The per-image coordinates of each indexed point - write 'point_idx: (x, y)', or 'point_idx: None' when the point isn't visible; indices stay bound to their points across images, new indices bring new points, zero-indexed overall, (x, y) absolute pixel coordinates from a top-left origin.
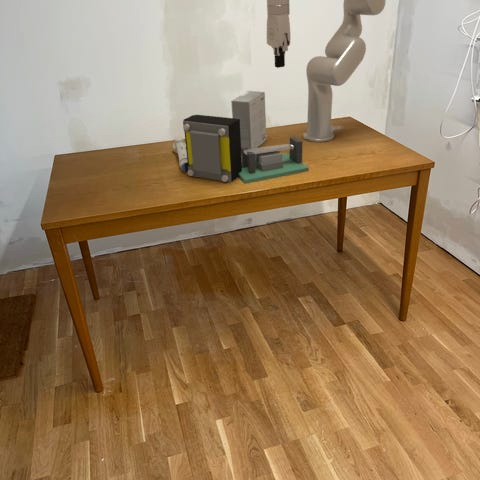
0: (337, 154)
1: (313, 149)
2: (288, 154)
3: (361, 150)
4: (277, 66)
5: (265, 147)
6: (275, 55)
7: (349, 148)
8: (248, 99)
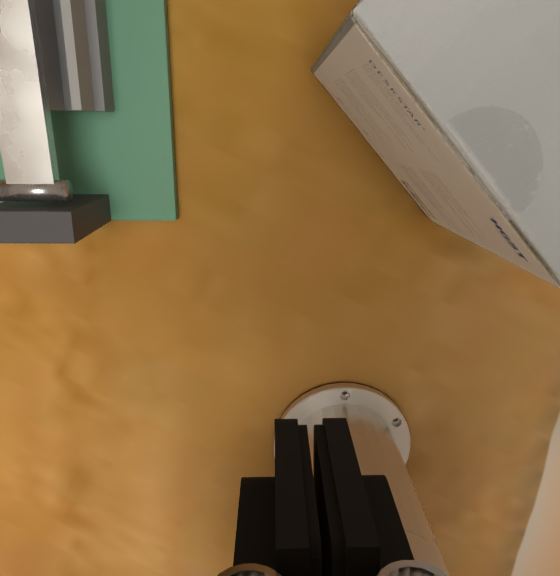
0: (112, 407)
1: (210, 354)
2: (161, 214)
3: (116, 500)
4: (276, 434)
5: (18, 25)
6: (360, 560)
7: (156, 476)
8: (432, 50)
